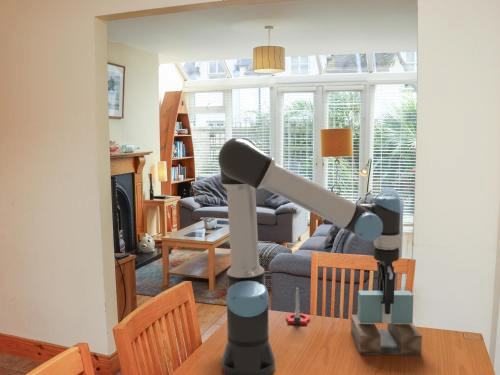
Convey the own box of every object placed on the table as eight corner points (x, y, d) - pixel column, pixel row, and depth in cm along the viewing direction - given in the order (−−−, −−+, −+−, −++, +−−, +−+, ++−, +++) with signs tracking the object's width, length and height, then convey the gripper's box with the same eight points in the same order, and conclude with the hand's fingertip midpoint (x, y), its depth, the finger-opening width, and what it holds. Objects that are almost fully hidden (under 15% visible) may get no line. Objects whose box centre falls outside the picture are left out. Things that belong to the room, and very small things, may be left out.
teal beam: (408, 318, 151) (409, 290, 150) (412, 323, 147) (413, 295, 146) (357, 318, 152) (358, 290, 151) (360, 323, 148) (360, 295, 147)
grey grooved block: (360, 354, 143) (360, 335, 142) (351, 332, 159) (351, 314, 158) (421, 355, 142) (421, 335, 142) (405, 332, 158) (406, 314, 157)
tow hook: (286, 315, 175) (284, 324, 166) (287, 280, 174) (285, 288, 165) (310, 316, 174) (309, 326, 164) (310, 281, 173) (309, 289, 163)
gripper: (406, 254, 138) (404, 331, 141) (391, 240, 155) (389, 309, 158) (380, 254, 138) (378, 331, 141) (368, 240, 155) (366, 309, 158)
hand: (384, 319), depth 150 cm, fingers closed on teal beam, 4 cm apart
